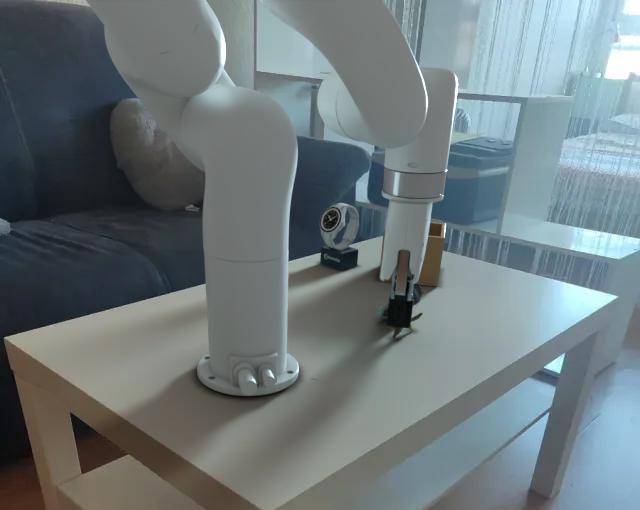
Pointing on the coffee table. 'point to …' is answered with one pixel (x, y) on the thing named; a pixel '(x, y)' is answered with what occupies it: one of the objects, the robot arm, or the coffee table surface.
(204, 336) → the coffee table surface
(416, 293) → the eagle figurine
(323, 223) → the watch
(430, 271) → the box
